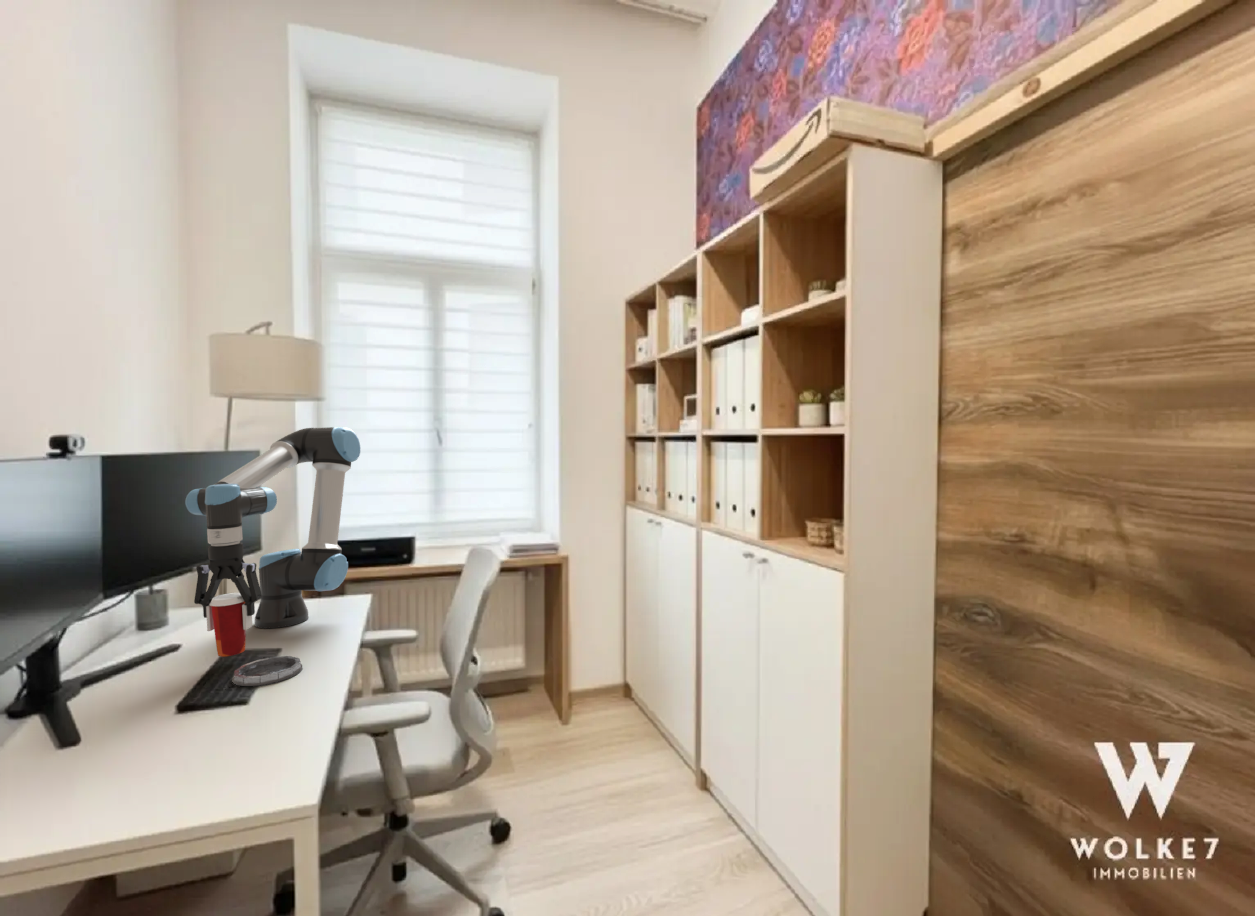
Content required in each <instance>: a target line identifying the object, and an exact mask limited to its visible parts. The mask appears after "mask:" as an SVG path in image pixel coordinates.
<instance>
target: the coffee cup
mask: <svg viewBox="0 0 1255 916" xmlns="http://www.w3.org/2000/svg"><path fill="white" fill-rule="evenodd" d="M243 604H245V602H244V600H243V598H242V596H241V594H240V592H228V593H224V594H218V595H215V597H213V598H212V601H211V603H210V606H211V608H212V616H213V623H214V629H213V630H214V636H215V637H214V638H215V644H216V651H217V656H218V657H223V658H225V657H226V658H227V657H231V656H232V657H233V656H237V655H239V654H242V653H244V652H245V650H246V640H247V639H246V636H247V634H246V631H247V629H246V630H243V612H242V605H243Z"/></svg>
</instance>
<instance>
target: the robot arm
mask: <svg viewBox="0 0 1255 916" xmlns="http://www.w3.org/2000/svg"><path fill="white" fill-rule="evenodd" d="M360 442H361V441H360V439H359V438H358V436H357V434H356V432H355V431H354V430H353V429H351V428H349V427H343V426H342V427H340V426H332V427H306V428H302V429H301V428H300V429H298V430H295V431H293V432H291V433H289V434H287V435H284V436H283V437H280V439H277V441H275V442H273V443H272V444H271V445H270V447H269V449H268V450H266V451H265V452H263V453H262V454H261V455H258V456H257V457H255V458H254V459H252V460H251V461H249V462H247V463H246V464H244V465H243V466H240V467H239V468H237V469H236V470H235V471H233V472H231V473H229V474H228V475H226V476H225V477H223V478H221V479H219V481H217V482H216V483H214V484H210V485H207V487H206V488H205V487H201V488H195V489H192V490H191V491H189V492H188V494H186V496H185V497H186V498H185V507H186V509H187V511H188V512H189V513H190V514H191V515H196V516H204V517H206V527H207V528H206V534H207V544H209V545H208V547H207V553H208V555H207V556H208V560H209V563H208V564H202V565H200V566H199V565H198V566H197V567H196V573H197V580H196V588H195V593H194V600H193V602H194V604H195V605H201V606H202V611H203V614H202V615H203V619H205V618H206V628H207V629H206V630H207V632H212V631H213V630H214V623H213V616H212V608H211V606H210V603H211V601H212V598H213V597H216V594H217V591H218V590H219V588H220V585H221V583H222V581H223V580H224V579H226V580H230V581H231V582H232V583H234V585H235V587H236V589H237V590H238V593H240V594H241V596H242V598H243V600H244V602H245V604H243V605H242V612H243V630H246V631H247V630H248V629H250V628H252V627H253V615H255V617H254V627H256V628H259V629H278V628H284V627H289V626H294V625H298V624H300V623H303V622H306V621H307V620H308V619H309V610H308V607H307V605H306V603H305V599H304V598H303V595H302V594H303V592H302V591H309V592H311V591H312V592H313V591H314V592H315V591H317V592H325V591H328V592H329V591H333V590H336V589H337V588H338V587H340V586H341V584H343V582H344V581H345V579H346V576H347V574H348V570H349V561H347V557H346V556H345V555H344V554H342V547H341V546H340V545H339V544H338V540H339V531H340V522H341V511H342V503H343V496H344V494H343V493H344V488H345V487H344V486H345V479H346V478H345V477H346V472H348V471H350V470H351V469H352V468H351V467H352V463H353V462H355V461H357V460H358V459H359V458H360V455H361V444H360ZM303 463H312V464H311V465H312V467H313V468H314V469H315V470H316V474H315V483H314V489H313V490H314V491H313V497H312V505H311V506H312V507H311V515H310V516H311V517H310V524H309V531H308V532H309V533H308V541H307V543H306V544H305V545H304V546H302V548H301V549H299V548H292V549H291V548H290V549H286V550H278V551H274V552H269V553H266V554H263V555H262V556H260V558H259V563H258V565H259V566H258V574H259V575H257V563H256V562H253V563H247V562H245V561H244V559H243V557H244V544H243V524H242V523H243V521H242V518H244V517H251V516H257V515H264V514H266V513H270V512H272V511H274V509H275V508H276V506H277V502H278V498H277V494H276V492H275V491H274V490H273V489H272V488H270V487H268V486H262V485H264V484H265V483H266V482H268V481H270V480H271V479H273V477H275V476H276V475H278V474H280V473H281V472H282V471H284V470H285V469H286V468H287V469H291V468H293V467H295V466H297V465H298V464H303ZM243 569H244V570H243ZM242 570H243V571H244V572H245V575H244V573H243V571H242ZM209 572H211V573H212V575H211V578H210V580H209V575H210V573H209ZM245 577H246V579H245ZM258 578H259V580H258ZM208 582H209V586H208ZM258 601H259V604H258V607H257V611H255V602H258ZM255 612H256V614H255Z"/></svg>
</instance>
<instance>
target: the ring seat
mask: <svg viewBox="0 0 1255 916" xmlns="http://www.w3.org/2000/svg"><path fill="white" fill-rule="evenodd" d="M302 671H303V664H302V663H301V660H300V658H299V657H297V656H296V657H295V656H291V655H286V656H285V655H284V656H280V655H279V656H271V657H266V658H262V659H257V660H254V661H251V662H248V663H245V664H243V665H241V666H239V667H238V668H236V669H234V673H233V676H232V678H231V683H232V682H233V683H234V684H237V685H241V686H253V687H252V688H254V687H255V688H256V687H257V688H258V687H263V686H268V685H273V684H278V683H280V682H284V681H287V680H289V679H291V678H293V677H295V676H297V675H298V674H300V673H301V672H302ZM233 683H232V684H233ZM234 684H233V685H234Z"/></svg>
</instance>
